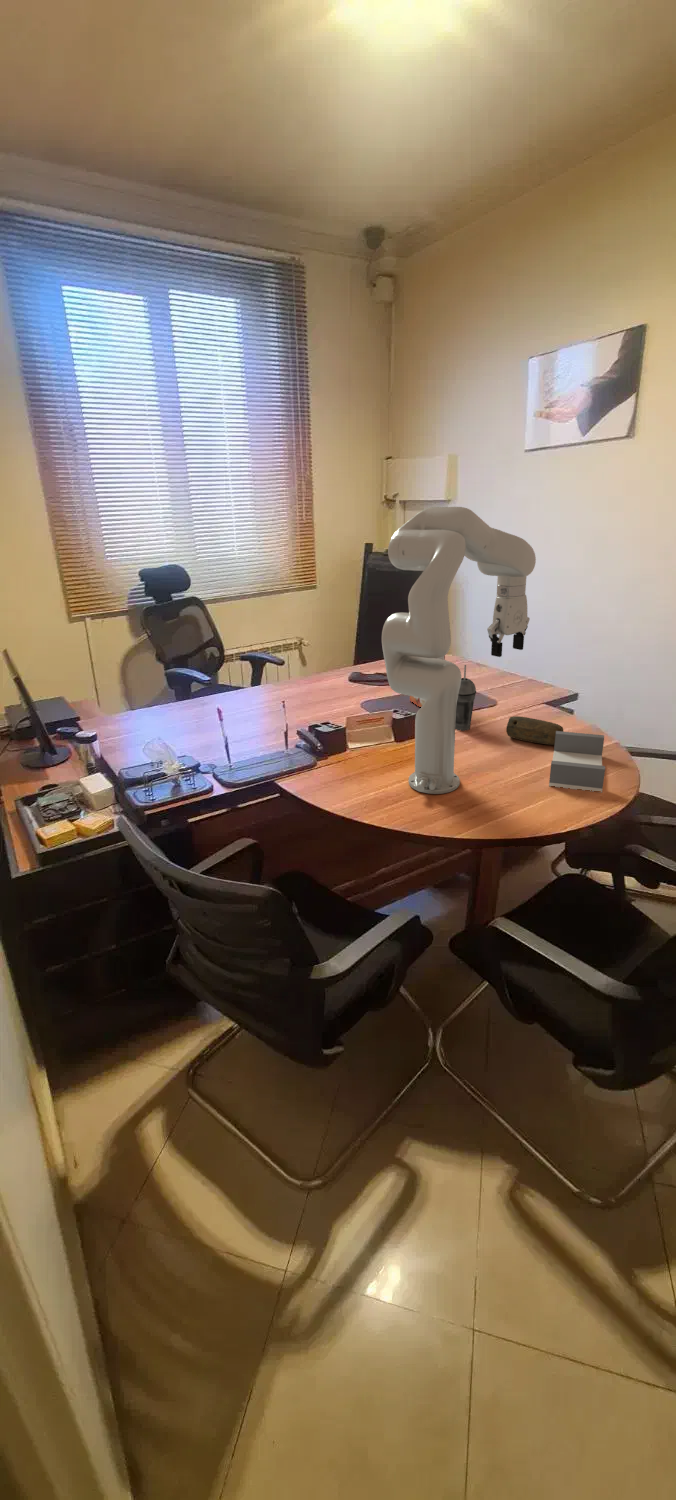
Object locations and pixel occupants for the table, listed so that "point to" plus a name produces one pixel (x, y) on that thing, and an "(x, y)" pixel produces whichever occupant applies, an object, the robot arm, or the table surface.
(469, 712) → the beverage cup
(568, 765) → the holder
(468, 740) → the table surface
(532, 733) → the brown piece
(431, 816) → the table surface
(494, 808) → the table surface
